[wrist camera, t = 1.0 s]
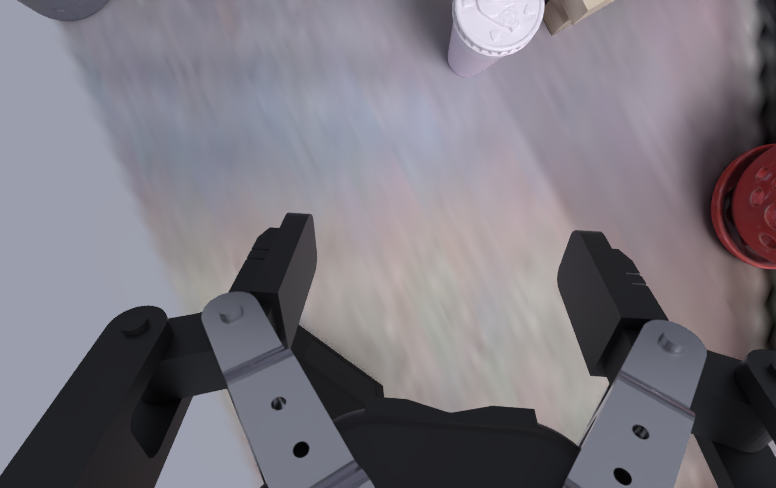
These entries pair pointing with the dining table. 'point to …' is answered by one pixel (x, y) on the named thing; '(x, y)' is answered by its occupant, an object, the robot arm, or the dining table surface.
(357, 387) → the digital camera
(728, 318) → the dining table surface
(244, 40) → the dining table surface
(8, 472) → the robot arm
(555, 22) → the low wooden platform
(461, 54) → the smoothie
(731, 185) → the plant pot
